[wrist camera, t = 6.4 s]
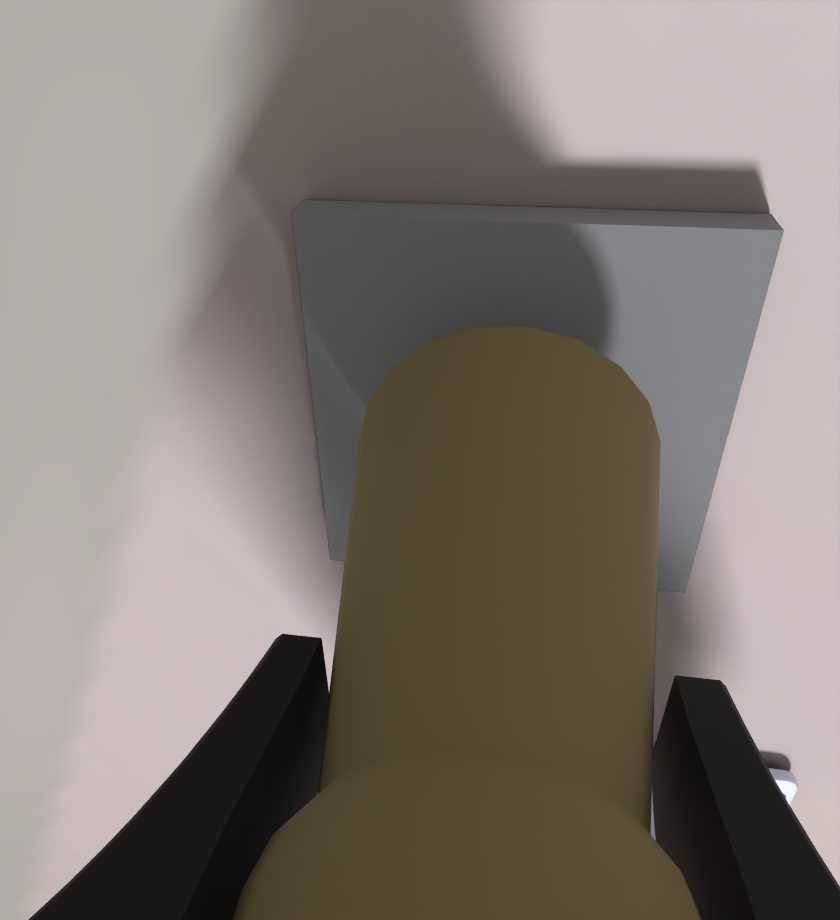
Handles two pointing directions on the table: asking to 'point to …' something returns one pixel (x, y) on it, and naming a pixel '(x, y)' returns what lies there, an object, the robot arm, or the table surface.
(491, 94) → the table surface
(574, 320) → the mat
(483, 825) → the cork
